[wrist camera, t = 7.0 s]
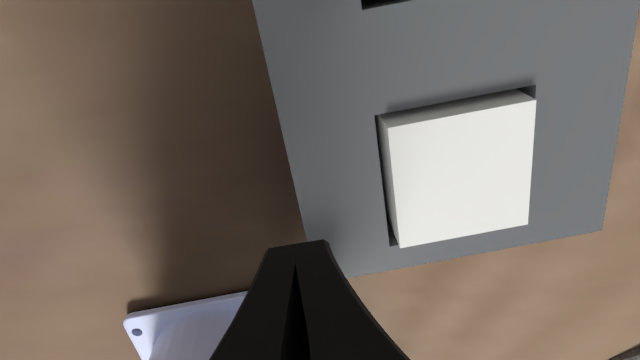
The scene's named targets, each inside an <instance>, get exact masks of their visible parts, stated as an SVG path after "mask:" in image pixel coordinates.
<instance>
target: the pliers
mask: <svg viewBox="0 0 640 360" xmlns="http://www.w3.org/2000/svg"><path fill="white" fill-rule="evenodd" d="M611 360H640V347H638V348H636V349H633V350H631V351H629V352H627V353H624V354H622V355H620V356H617V357H615V358H613V359H611Z"/></svg>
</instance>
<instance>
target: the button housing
mask: <svg viewBox="0 0 640 360" xmlns="http://www.w3.org/2000/svg"><path fill="white" fill-rule="evenodd" d="M252 3H253V7H254V11H255V16H256V20H257V25H258V29H259V33H260V38H261V42H262V47H263V51H264V55H265V60H266V64H267V69H268V73H269V77H270V82H271V86H272V90H273V95H274V99H275V104H276V108H277V112H278V117H279V121H280V126H281V130H282V134H283V139H284V143H285V148H286V152H287V156H288V161H289V165H290V169H291V174H292V178H293V183H294V187H295V191H296V196H297V200H298V205H299V209H300V213H301V218H302V222H303V227H304V231H305V235H306V240H307V242H310V241H315V240H321V239H324V240H326V241H327V242H329V244H330V248H331V250H332V253H333V255H334V257H335V259H336V261H337V263H338V265H339V267H340V269H341V270H342V272H343V274H344V276H345V277H346V278H351V277H357V276H362V275H367V274H373V273H378V272H383V271H389V270H394V269H399V268H405V267H410V266H415V265H421V264H426V263H431V262H437V261H442V260H447V259H453V258H458V257H463V256H469V255H474V254H479V253H485V252H490V251H495V250H501V249H506V248H511V247H517V246H522V245H528V244H533V243H538V242H544V241H549V240H554V239H560V238H565V237H570V236H576V235H581V234H586V233H592V232H597V231H602V227H603V221H604V215H605V209H606V203H607V197H608V191H609V185H610V179H611V173H612V167H613V161H614V155H615V149H616V143H617V137H618V131H619V125H620V119H621V113H622V107H623V101H624V95H625V89H626V83H627V77H628V71H629V65H630V59H631V54H632V48H633V42H634V36H635V30H636V24H637V18H638V12H639V6H640V0H252ZM511 89H517V90H519V91H521V92H523V93H525V94H527V95H528V96H530V97H532V98H534V99H536V114H535V128H534V143H533V158H532V172H531V187H530V202H529V216H528V224H527V225H522V226H517V227H511V228H506V229H501V230H495V231H490V232H485V233H479V234H474V235H469V236H463V237H458V238H453V239H447V240H442V241H437V242H431V243H426V244H421V245H416V246H410V247H405V248H400V247H399V245H398V242H397V240H396V237H395V235H394V232H393V230H392V228H391V225H390V223H389V220H388V218H387V215H386V211H385V203H384V194H383V186H382V177H381V169H380V160H379V152H378V143H377V135H376V126H375V117H374V115H379V114H385V113H390V112H395V111H400V110H406V109H411V108H416V107H421V106H427V105H432V104H437V103H442V102H448V101H453V100H458V99H463V98H469V97H474V96H479V95H484V94H490V93H495V92H500V91H505V90H511Z"/></svg>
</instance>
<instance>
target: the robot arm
mask: <svg viewBox="0 0 640 360" xmlns="http://www.w3.org/2000/svg"><path fill="white" fill-rule="evenodd" d="M123 325H124V328H125V329H126V331H127V333H128V335H129V337H130V339H131V341H132V342H133V344H134V346H135V348H136V350H137V352H138V354H139V356H140V357H141V359H142V360H410V359H409V358H408V357H407V356H406V355H405V354H404V352H403V351H402V350H401V349H400V348H399V347H398V346H397V345H396V344H395V342H394V341H393V340H392V339H391V338H390V337H389V335H388V334H387V333H386V332H385V331H384V329H383V328H382V327H381V326H380V324H379V323H378V322H377V321H376V320H375V318H374V317H373V316H372V315H371V313H370V312H369V311H368V309H367V308H366V307H365V305H364V304H363V302H362V301H361V300H360V298H359V297H358V295H357V294H356V292H355V291H354V289H353V288H352V287H351V285H350V284H349V282H348V280H347V279H346V277H345V276H344V274H343V272H342V270H341V269H340V267H339V265H338V263H337V261H336V259H335V257H334V255H333V253H332V250H331V248H330V244H329V242H327V241H326V240H324V239H321V240H315V241H310V242H304V243H298V244H292V245H286V246H280V247H274V248H269V249H268V250H267V251H266V253H265V254H264V257H263V259H262V262H261V264H260V266H259V269H258V271H257V273H256V275H255V277H254V280H253V282H252V284H251V286H250V288H249V290H248V291H245V292H239V293H234V294H229V295H223V296H218V297H213V298H207V299H202V300H197V301H191V302H186V303H181V304H175V305H170V306H165V307H159V308H154V309H149V310H143V311H138V312H133V313H129V314H128V315H127V316H126V317H125V319H124V322H123ZM136 328H138V329H141V330H137V329H136Z"/></svg>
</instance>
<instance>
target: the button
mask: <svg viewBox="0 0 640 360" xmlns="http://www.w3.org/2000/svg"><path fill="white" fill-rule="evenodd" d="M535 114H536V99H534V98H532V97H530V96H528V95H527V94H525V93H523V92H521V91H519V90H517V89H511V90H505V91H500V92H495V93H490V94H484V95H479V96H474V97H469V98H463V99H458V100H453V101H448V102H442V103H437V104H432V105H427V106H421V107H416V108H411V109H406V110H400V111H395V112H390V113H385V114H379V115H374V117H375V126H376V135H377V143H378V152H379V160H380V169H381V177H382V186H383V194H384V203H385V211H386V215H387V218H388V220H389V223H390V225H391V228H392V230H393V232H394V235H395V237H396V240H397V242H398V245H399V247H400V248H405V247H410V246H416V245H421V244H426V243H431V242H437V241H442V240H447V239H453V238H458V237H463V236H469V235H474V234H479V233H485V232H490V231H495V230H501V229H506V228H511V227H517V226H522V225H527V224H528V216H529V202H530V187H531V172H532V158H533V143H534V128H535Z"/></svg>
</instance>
